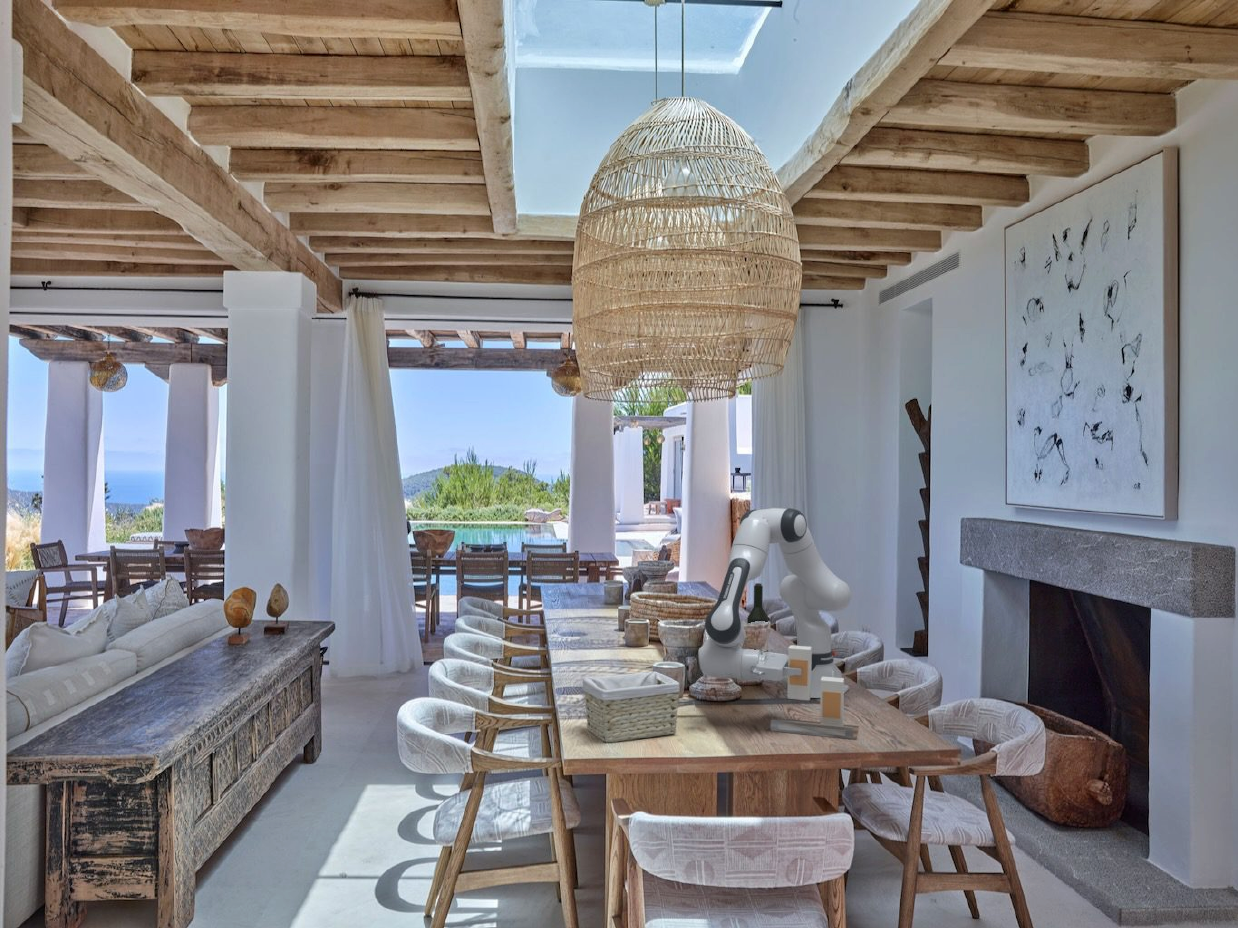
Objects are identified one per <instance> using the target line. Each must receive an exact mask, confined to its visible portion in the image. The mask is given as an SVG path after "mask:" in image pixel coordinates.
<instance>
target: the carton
mask: <svg viewBox="0 0 1238 928" xmlns="http://www.w3.org/2000/svg"><path fill="white" fill-rule="evenodd" d="M844 685H845V678H843V677H842V678H835V677H822V678H821V698H820V703H819V704H820V705H819V706H820V714H819V715H820V716H819V717H820V718H819V720H820V721H819V722H820V724H828V725H838V726H844V725H845V724H844V723H845V722H844V720H845V719H844V717H845V714H844V713H845V709H844V708H845V707H844V706H845V705H844V704H845V702H844V701H845V694H844Z"/></svg>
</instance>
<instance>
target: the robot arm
mask: <svg viewBox="0 0 1238 928" xmlns="http://www.w3.org/2000/svg"><path fill="white" fill-rule="evenodd" d="M739 520H740V521H739V526H738V529H737V531H736V533H735V536H734V539H733V542H732V545H731V548H730V552H729V557H728V566H727V570H726V573H725V577H724V581H723V584H722V586H721V589H720V592H719V596H718V598H717V601H716V603H715V604H714V606H713V608H711V609H710V610H709V613H708V614H707V615H706V618H705V621H704V627H705V628H704V629H705V631H706V634H707V635H708V637H707V639H706V640H705V642H704V643H703V644H702V646H701V647H699V648H698V651H697V664H698V667H699V670H700V671H701V673H703V674H704V675H705V676H708V677H712V678H717V679H726V680H727V679H729V680H730V679H737V680H740V681H751V682H760V681H761V680H764V681H765V680H766V681H773V682H774V681H775V682H782V681H783V679H784V677H786V676H787V677H788V676H790V675H801V674H802V669H801V668H796V667H795V668H789V667H788V654H785V653H779V652H772V651H768V652H764V650H763V649H756V650H754V649H747V648H744V645H745V640H746V638H747V632H746V628H745V627H744V625H743V623H742V621H741V618H740V610H739V609H740V605H741V602H742V599H743V595H744V592H745V588H746V586H747V584H748V583H749V581H754V580H756V579H757V578H759V577H760V576H761V575H762V572H763V570H764V568H765V566H766V562H767V558H768V554H769V550H770V549H769V548H770V545H771V544H778V546H779V549H780V552H781V554H782V557H783V560H784V563H785V565H786V567H787V569H788V571H789V572H790V573H791V574H790V575H786V576H785V577H784V578H783V579H782V581H781V583H780V585H779V595H780V597H781V599H782V601H783V602H784V603H785V604H786V605H787V607H789V609H790V611H791V613H792V616H793V618H794V622H795V626H796V627H795V628H796V638H797V639H796V641H797V642H796V646H806V647H812V663H811V698H812V699H813V698H814V699H821V678H822V677H835V678H843V675H842V673H843V672H842V671H841V670H840V669H839V667H837V665H836V664H835V663H834V662H835V661H834V657H836V655H837V652H836V650H832V630H831V627H830V625H829V623H827V622H826V621H825V620H824V619H823V617H822V616H821V615H820V611H825V612H837V611H838V612H839V611H843V610H845V609H846V608H847V607H848V606H849V604H850V602H851V600H852V599H851V598H852V591H851V589H850V586H849V585H848V583H847V582H845V581H844V580H842V579H840V578H839V577H838V576H837V575H835V574H834V573H833V572H832V571H831V569H830V568H829V567H828V566H827V565H826V563H825V562H824V561H823V559H822V557H821V556H820V553H819V551H818V547H817V546H816V543H815V541H814V538H813V535H812V533H811V530H810V529H809V527H808V524H807V523H808V522H807V519H806V517H805V515H804V514H803V513H802V512H801V511H800V510H799V509H795V508H792V507H791V508H789V507H788V508H781V507H780V508H779V507H770V508H764V509H763V508H762V509H761V508H760V509H751V510H748V511H746V512H745V513H744V514H743V515H742V516H741V518H740V519H739ZM786 689H787V690H788V685H787V687H786ZM849 689H850V687H849V685H847V684H844V695H845V693H846V692H848V690H849ZM811 698H810V699H811Z"/></svg>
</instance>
